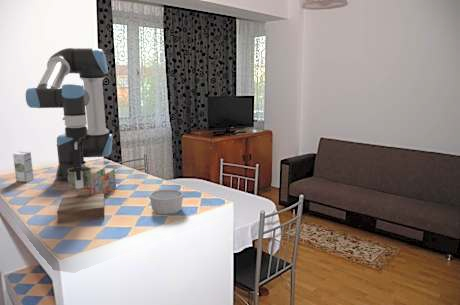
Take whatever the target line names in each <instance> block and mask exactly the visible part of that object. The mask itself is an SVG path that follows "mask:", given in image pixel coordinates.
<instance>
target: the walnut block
mask: <svg viewBox="0 0 460 305" xmlns="http://www.w3.org/2000/svg"><path fill="white" fill-rule="evenodd" d="M105 203H106V202H105V194H94V195H83V196H78V195H73V196H63V197H61V199H60V202H59V205H58V208H57V211H56V214H57V224H67V223H77V222H86V221H94V220H104V219H105V208H106V207H105V205H106V204H105Z"/></svg>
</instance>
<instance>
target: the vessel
mask: <svg viewBox="0 0 460 305" xmlns="http://www.w3.org/2000/svg"><path fill="white" fill-rule="evenodd" d="M76 168H79V167H76ZM73 169H74V167H73V168H69V169H68V170H67V172H68V181H69V183H70V184H69V187H70V188H75V189H76V186H75V174H74V172H72V170H73ZM90 170H91V167H90V166H85V167H82V173H83V186H84V187H87V186H89V185H90V184H91V183H90V180H91V179H92V175H91V172H90Z"/></svg>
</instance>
